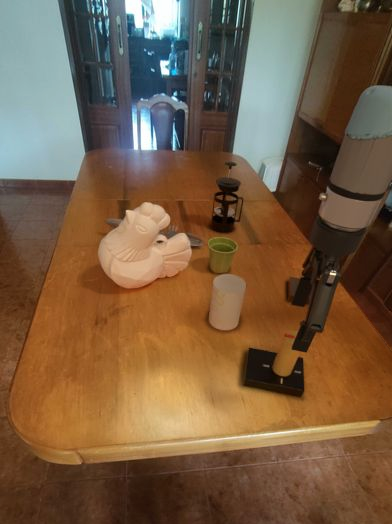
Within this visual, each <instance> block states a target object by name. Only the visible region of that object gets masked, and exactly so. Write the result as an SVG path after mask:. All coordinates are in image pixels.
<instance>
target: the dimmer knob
mask: <svg viewBox="0 0 392 524" xmlns="http://www.w3.org/2000/svg"><path fill="white" fill-rule="evenodd" d="M297 333H298V331H297V330H287V331H285V332H284V334H283V336H282V339H281V342H280V344H279V347H278V349H277V352H276V353H277V355H276V358H275V360H274V363H273V366H272V369H273V371H274V372H275V373H276V374H277V375H279V376H288V375H290V374H291V372H292V370H293V368H294V365H295V363H296V361H297V359H298V357H300V354H301V353H302V352H301V351H295V350H292V345H293V342H294V340H295V338H296V335H297Z"/></svg>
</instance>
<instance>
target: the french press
mask: <svg viewBox="0 0 392 524" xmlns="http://www.w3.org/2000/svg"><path fill="white" fill-rule="evenodd" d="M224 165H225V166H228V176H227V177H225V176H224V177H218V178H216V179H215V183H216V184H217V187H218V189H219V191H216V192H214V195H213V203H212V212H211V222H210V226H209V227H210V229H211V230H212V231H214V232H216V233H219V234H229V233H233V231H234V230H235V223H240V222H241V217H242V212H243V207H244V200H245V199H244V197H243V196H239V195H238V194H236V193H237V192H238V191H239V189H240V186H242V185H241V184H242V182H241V181H240V180H238V179H237V178H234V177H230V176H231V170H232V167H236V166H237V165H238V164H237V162H234V161H225V162H224ZM218 196H222V199H221V198H218ZM228 197H232V198H234V199H233V200H228ZM239 200H241V203H240V207H239V213H238V214H239V215H238V219H237V218H236V216H237V210H238V205H239ZM215 203H218V204H221V206H216V207H215ZM231 205H235V210H234V208H231V207H230V206H231Z"/></svg>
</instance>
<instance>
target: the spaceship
mask: <svg viewBox="0 0 392 524" xmlns="http://www.w3.org/2000/svg"><path fill="white" fill-rule="evenodd" d="M123 220H124V219H120V218H116V217H106V218H105V219H104V222H105V224H106V225H108V226H110V227H112V228H117V227H118V226H119V224H120V223H121V222H122V221H123ZM178 227H179V226H177V225H176V226H175V225H174V224H173V225H172V224H169V225H168V230H167V231H166V232H164V231H163V229H162V230H160V231H159V233H158V234H162V235H164V236H165V237H166V238H167V240H168V239H170V238H171V237H173V236H175V235H177V234H178ZM184 233H185V234H186V235H187V237H188V239H189V241H190V247H202V246H204V242H205V240H204V239H202V238H201V237H199V236H197V235H195V234H194V233H191V232H184Z"/></svg>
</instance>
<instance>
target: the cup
mask: <svg viewBox="0 0 392 524" xmlns="http://www.w3.org/2000/svg"><path fill="white" fill-rule="evenodd" d="M246 290H247V282H246V281H245V280H244V278H243V277H241V276H238V275H236V274H233V273H221V274H219V275H216V277H215V278H213V282H212V290H211V298H210V304H209V305H210V306H209V314H208V323H209V324H210V325H211V326H212V327H213V328H214V329H217V330H220V331H231V330H233V329H236V328H237V327H238V325H239V323H240V322H239V321H240V317H241V312H242V309H243V308H242V307H243V304H244V298H245V295H246Z"/></svg>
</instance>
